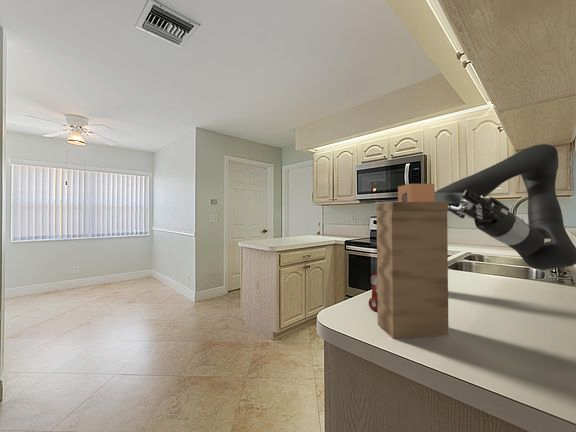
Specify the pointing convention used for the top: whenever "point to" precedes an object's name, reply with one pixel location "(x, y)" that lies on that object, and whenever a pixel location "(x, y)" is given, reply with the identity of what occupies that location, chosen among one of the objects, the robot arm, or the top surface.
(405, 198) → the orange and gray block
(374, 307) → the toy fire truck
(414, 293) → the walnut pedestal
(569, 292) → the top surface
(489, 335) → the top surface
